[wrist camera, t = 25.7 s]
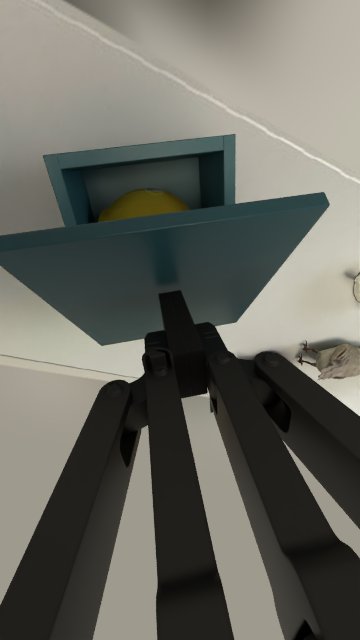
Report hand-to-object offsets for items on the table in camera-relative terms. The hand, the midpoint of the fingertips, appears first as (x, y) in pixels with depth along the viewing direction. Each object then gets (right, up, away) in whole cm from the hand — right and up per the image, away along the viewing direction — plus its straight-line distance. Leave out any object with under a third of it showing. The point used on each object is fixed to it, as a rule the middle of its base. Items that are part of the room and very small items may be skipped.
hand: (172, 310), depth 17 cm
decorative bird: (+30, -6, +32) cm, 44 cm away
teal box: (-3, +11, +16) cm, 19 cm away
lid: (0, +1, +2) cm, 3 cm away
